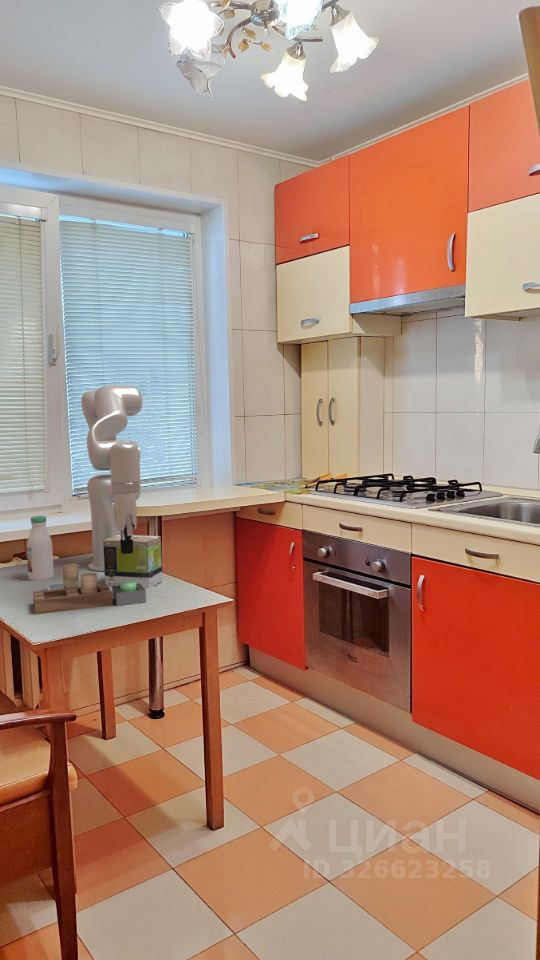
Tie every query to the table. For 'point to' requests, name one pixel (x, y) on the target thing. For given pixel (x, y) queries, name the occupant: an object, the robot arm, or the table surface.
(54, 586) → the shallow grey square tray
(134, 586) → the button
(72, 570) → the dowel
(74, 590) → the wooden dowel rack
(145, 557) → the tea box
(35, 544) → the milk bottle
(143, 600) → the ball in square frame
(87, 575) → the seated dowel
